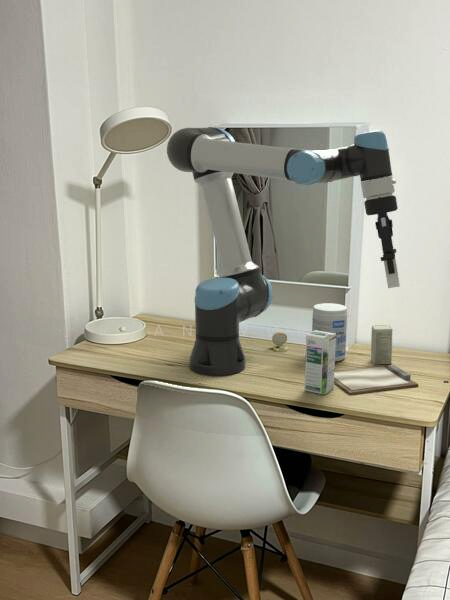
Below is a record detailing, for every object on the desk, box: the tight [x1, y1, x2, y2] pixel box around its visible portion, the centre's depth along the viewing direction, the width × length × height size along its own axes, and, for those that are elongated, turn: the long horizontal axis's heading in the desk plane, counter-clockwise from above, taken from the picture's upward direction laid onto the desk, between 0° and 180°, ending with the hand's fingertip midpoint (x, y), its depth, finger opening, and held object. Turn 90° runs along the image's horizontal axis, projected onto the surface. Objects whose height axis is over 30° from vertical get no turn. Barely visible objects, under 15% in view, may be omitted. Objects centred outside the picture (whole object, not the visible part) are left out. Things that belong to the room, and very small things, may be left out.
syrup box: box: [304, 330, 336, 396], centre depth 171 cm, size 6×6×14 cm
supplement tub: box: [311, 302, 348, 362], centre depth 196 cm, size 10×10×15 cm
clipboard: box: [334, 364, 419, 396], centre depth 179 cm, size 15×19×2 cm
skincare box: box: [370, 324, 393, 365], centre depth 192 cm, size 5×4×10 cm
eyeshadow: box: [271, 331, 289, 353], centre depth 204 cm, size 4×5×5 cm
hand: (393, 283), depth 171 cm, fingers open, 13 cm apart
